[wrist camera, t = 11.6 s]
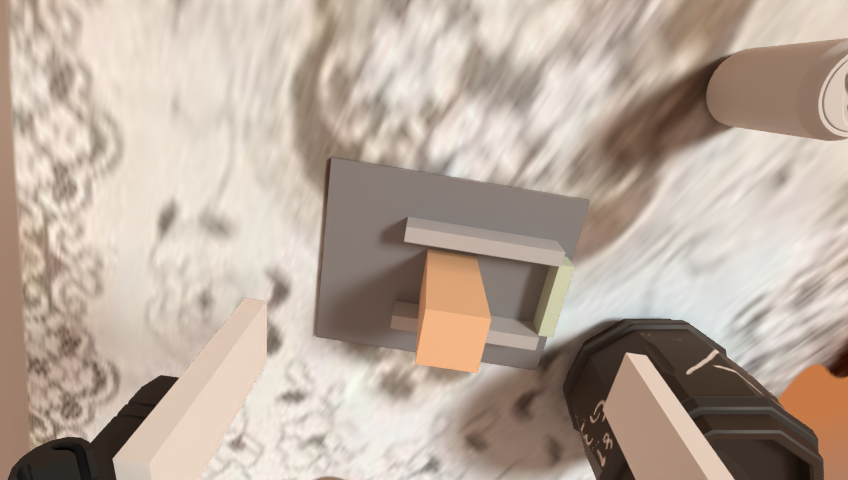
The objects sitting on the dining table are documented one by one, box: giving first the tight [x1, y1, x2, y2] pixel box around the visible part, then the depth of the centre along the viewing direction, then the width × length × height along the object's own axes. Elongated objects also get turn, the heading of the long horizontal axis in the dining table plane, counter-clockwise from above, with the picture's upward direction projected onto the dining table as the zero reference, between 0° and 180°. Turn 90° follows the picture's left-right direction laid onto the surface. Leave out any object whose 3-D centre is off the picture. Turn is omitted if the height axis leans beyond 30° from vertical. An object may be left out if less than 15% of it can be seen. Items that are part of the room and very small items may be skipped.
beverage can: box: [706, 38, 848, 141], centre depth 32 cm, size 6×6×12 cm
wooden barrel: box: [563, 319, 824, 480], centre depth 41 cm, size 18×18×16 cm
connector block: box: [415, 249, 491, 373], centre depth 38 cm, size 5×5×12 cm
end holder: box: [316, 157, 590, 370], centre depth 43 cm, size 20×25×4 cm
